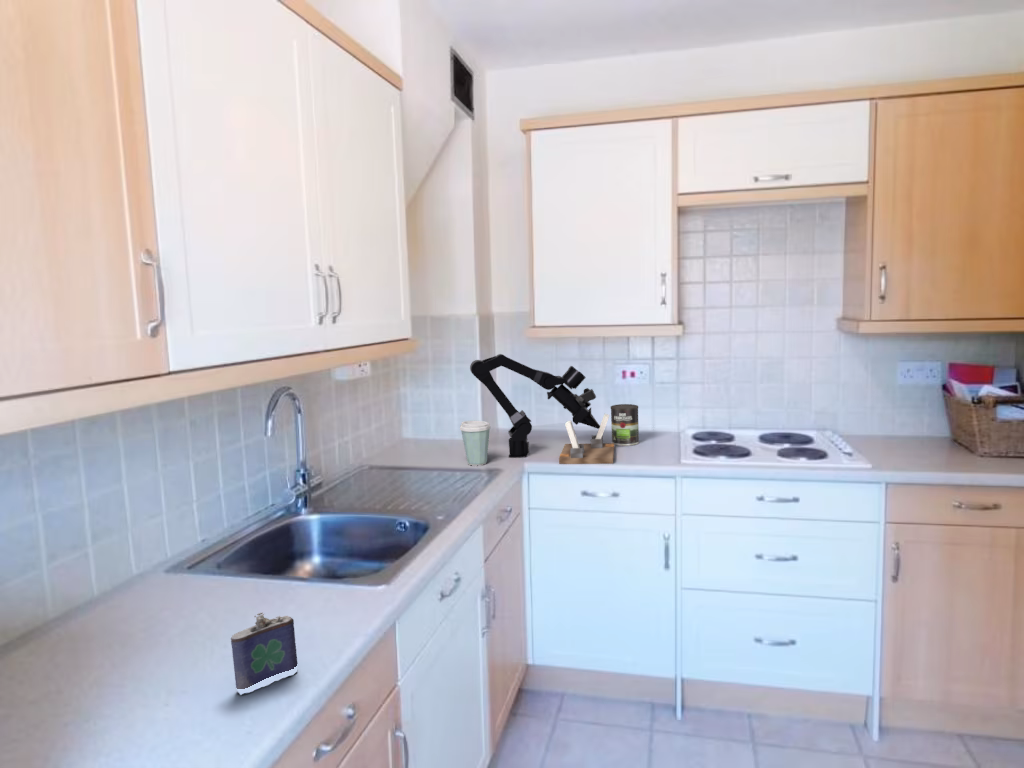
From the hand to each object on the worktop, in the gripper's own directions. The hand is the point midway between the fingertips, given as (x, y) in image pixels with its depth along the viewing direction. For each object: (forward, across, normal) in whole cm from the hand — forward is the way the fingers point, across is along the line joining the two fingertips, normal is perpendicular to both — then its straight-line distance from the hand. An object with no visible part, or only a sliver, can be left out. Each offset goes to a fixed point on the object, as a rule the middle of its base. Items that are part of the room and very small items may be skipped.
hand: (599, 427), depth 235 cm
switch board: (+3, -7, +9) cm, 12 cm away
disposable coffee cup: (-24, -17, +35) cm, 46 cm away
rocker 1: (0, -14, +9) cm, 17 cm away
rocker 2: (+3, 0, +6) cm, 6 cm away
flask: (-26, -148, +37) cm, 155 cm away
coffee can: (+13, +13, 0) cm, 18 cm away
